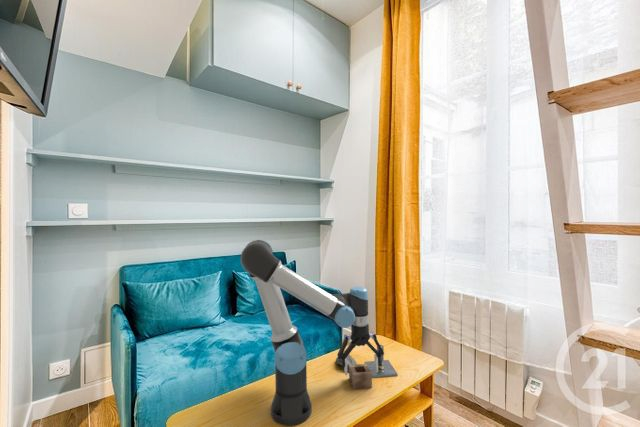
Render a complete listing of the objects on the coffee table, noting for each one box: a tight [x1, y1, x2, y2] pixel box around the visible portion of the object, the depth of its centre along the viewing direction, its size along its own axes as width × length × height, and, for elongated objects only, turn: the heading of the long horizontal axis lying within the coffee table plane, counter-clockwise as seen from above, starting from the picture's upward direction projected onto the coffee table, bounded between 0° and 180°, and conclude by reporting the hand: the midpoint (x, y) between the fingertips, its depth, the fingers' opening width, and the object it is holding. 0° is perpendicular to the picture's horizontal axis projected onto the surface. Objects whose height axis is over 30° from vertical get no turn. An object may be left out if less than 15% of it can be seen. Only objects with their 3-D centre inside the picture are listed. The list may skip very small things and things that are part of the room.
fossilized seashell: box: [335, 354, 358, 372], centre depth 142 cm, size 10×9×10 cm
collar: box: [348, 363, 373, 390], centre depth 128 cm, size 8×8×6 cm
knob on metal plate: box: [363, 344, 398, 379], centre depth 138 cm, size 12×12×11 cm
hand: (361, 372), depth 128 cm, fingers open, 13 cm apart
